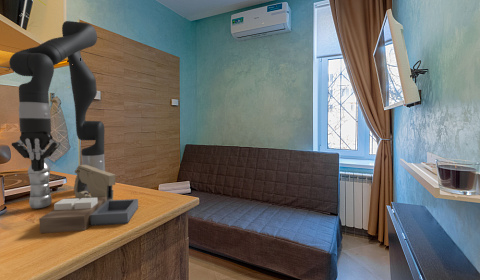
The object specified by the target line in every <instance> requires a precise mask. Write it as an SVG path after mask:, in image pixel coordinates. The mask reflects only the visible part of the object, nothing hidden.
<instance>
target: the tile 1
mask: <svg viewBox="0 0 480 280" xmlns="http://www.w3.org/2000/svg"><path fill="white" fill-rule="evenodd" d="M78 200H79V198H76V197H75V199H74V198H63V199H61V200H59V201H57V202H55V203H54V204H53V205H54V206H53V208H54V209H53V210H67V209H73V208H74V203H75V202H77V201H78Z"/></svg>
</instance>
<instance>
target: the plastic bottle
mask: <svg viewBox="0 0 480 280" xmlns="http://www.w3.org/2000/svg"><path fill="white" fill-rule="evenodd" d="M45 161H46V158H45V159H44V169H43V170H42V171H33V170H32V166H31V164H30V165H29V166H28V169H27V174H28V175H27V176H28V178H29V186H30V193H29V196H30V197H29V199H28V200H29V201H28V204H29V208H31V209H43V208H46V207H49V206H50V205H51V204H52V200H53V199H52V194H51V191H50V174H51V168H50V165H49V164H48V163H46V162H45Z"/></svg>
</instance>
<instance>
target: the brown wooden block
mask: <svg viewBox="0 0 480 280" xmlns="http://www.w3.org/2000/svg"><path fill="white" fill-rule="evenodd" d="M75 198H76V197H75ZM75 198H73V199H75ZM96 198H97V200H98V203H97V204H96V205H95V206H93V207H92V208H86V209H74V208H73V209H67V210H54V209H52V210H51V211H49V212H48V213H46V214H44V215H43V216H41V217H39V220H38V221H39V233H40V234H49V233H51V234H52V233H63V232H64V233H65V232H77V231H78V232H79V231H86V230H87V229H88V228H89V227H90V226H91V219H90V215H91V214H92V213H93V212H94V211H96V210H97V209H98V208H99V207H100V206H101V205H102V204H104V203H105V202H106V201H107V197H96ZM80 199H81V198H79V200H80Z"/></svg>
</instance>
